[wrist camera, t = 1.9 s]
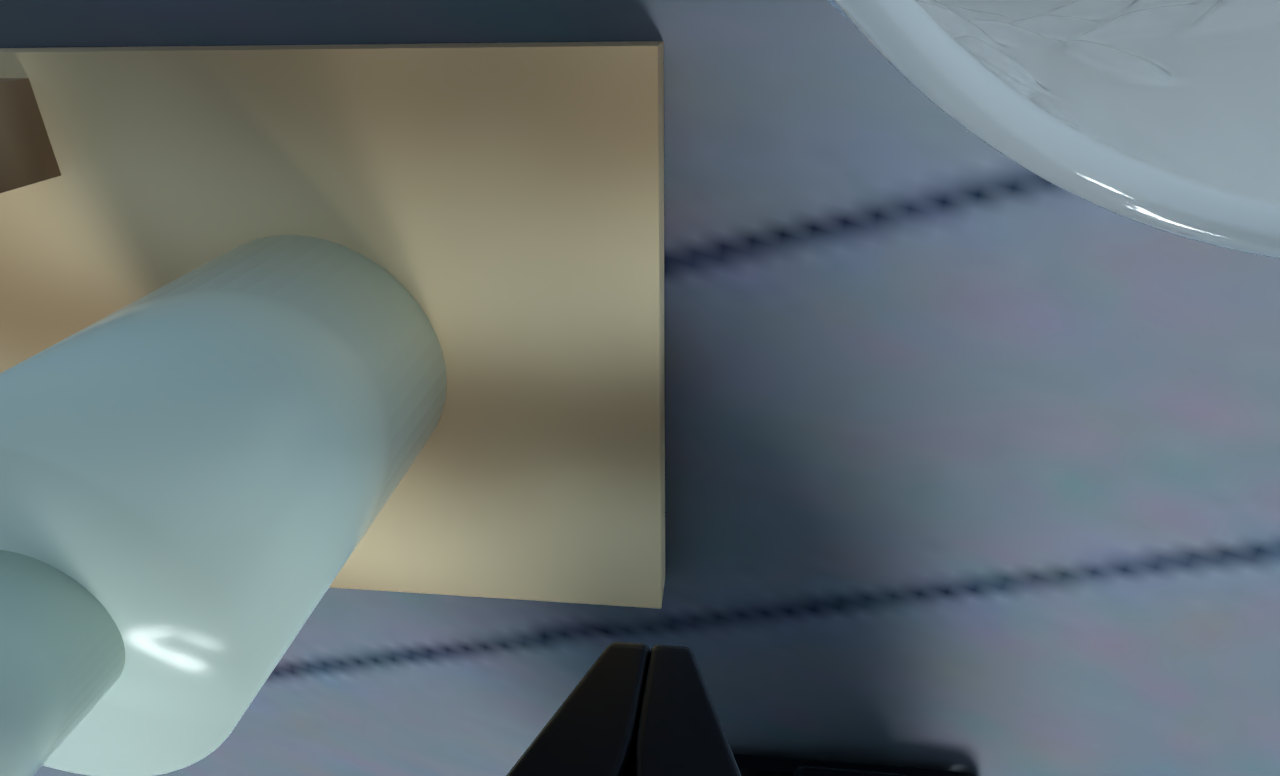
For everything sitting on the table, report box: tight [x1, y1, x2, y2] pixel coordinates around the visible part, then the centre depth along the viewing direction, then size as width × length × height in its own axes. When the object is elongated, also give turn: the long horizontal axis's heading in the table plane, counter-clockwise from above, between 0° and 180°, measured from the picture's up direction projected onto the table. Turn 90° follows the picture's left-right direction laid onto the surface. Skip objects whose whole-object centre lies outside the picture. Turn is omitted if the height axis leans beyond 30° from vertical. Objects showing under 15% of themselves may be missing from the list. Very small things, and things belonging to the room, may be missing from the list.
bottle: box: [0, 235, 447, 776], centre depth 11 cm, size 5×5×10 cm
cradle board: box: [0, 41, 665, 609], centre depth 15 cm, size 11×23×4 cm, turn 91°
